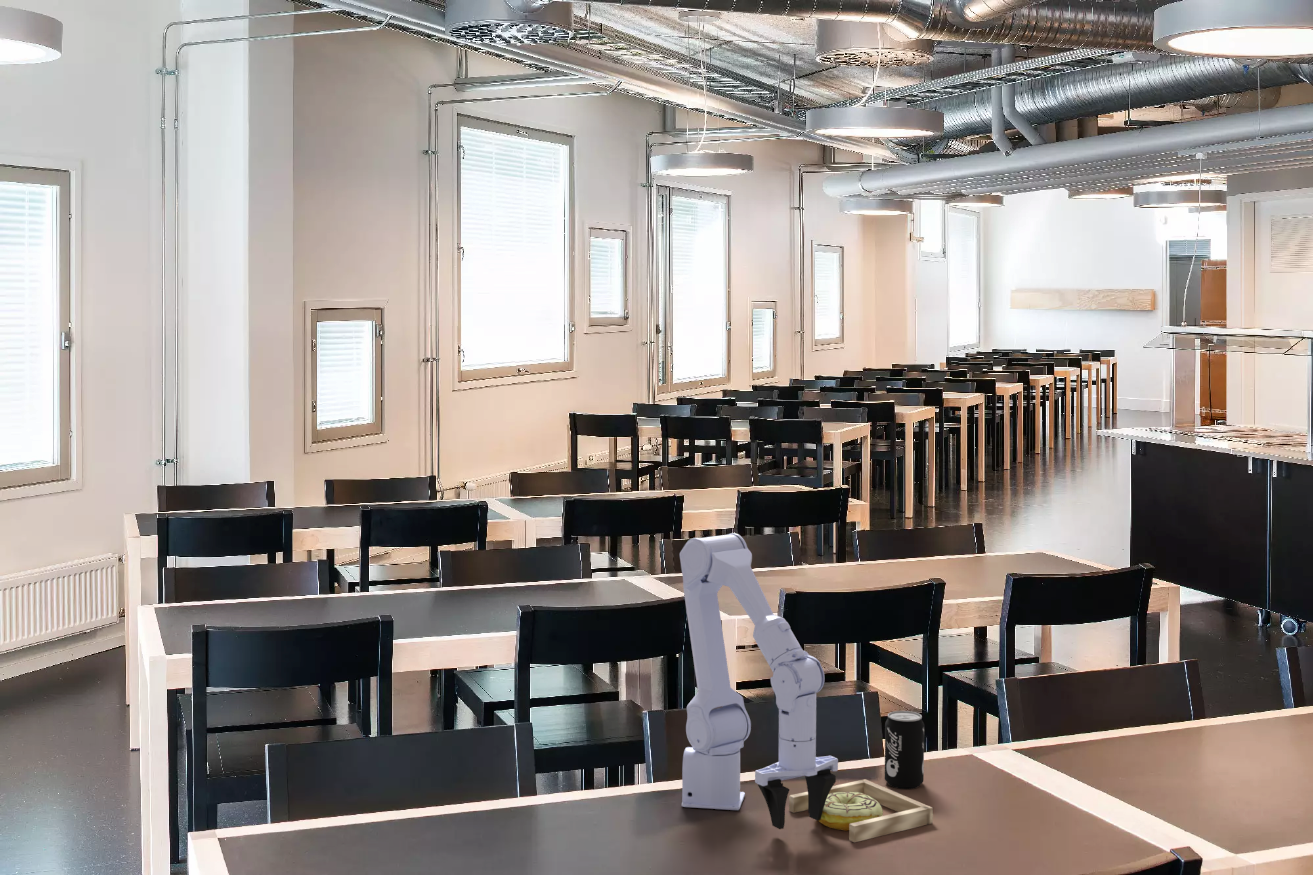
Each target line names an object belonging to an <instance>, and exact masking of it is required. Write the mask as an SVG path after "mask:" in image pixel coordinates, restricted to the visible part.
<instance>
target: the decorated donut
mask: <svg viewBox="0 0 1313 875" xmlns="http://www.w3.org/2000/svg"><path fill="white" fill-rule="evenodd" d="M881 816H884V812H883V807H882V805H881V804H879V803H878V802H877V801H876V800H875V799H873V798H872V797H870V796H868V795H865V794H863V793H859V792H835V793H830V794H828V796H827V799H826V802H825V805H824V808H823V812H822V816H821V820H819V821H818V822H819V823H820V824H822V825H823V826H826V827H828V828H830V829H834V830H841V831H844V832H845V831H849V824H851V823H855V822H860V821H864V820H868V819H872V818H877V817H881Z"/></svg>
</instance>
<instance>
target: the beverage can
mask: <svg viewBox="0 0 1313 875" xmlns="http://www.w3.org/2000/svg"><path fill="white" fill-rule="evenodd" d="M922 718H923V716H922V714H920V713H919V712H916V711H911V710H910V711H909V710H893V711H890V712H889V713H887V719H886V721H885V722H884V727H885V728H884V780H885V782H886V783H887V785H888V786H890V787H893V788H895V789H900V790H912V789H917V788H919V787H920V786H921V785H922V784H923V783H924V775H925V774H924V773H925V772H924V771H925V770H924V768H925V766H924V764H925V763H924V762H925V761H924V759H925V723H924V721H923V720H922Z"/></svg>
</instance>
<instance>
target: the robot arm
mask: <svg viewBox="0 0 1313 875" xmlns="http://www.w3.org/2000/svg"><path fill="white" fill-rule="evenodd" d="M679 560H680V569H681V574H682V575H681V576H682V585H683V586H682V587H683V594H684V595H683V596H684V601H685V610H686V617H687V623H688V629H689V637H690V638H689V639H690V644H691V651H692V657H693V658H692V659H693V660H692V661H693V665H694V666H693V667H694V673H695V679H696V686H697V692H696V694H695V695H694V696H693V698H692V699H691V700H690V702H689V703H688V704H687V706H686V713H687V715H686V716H687V717H686V718H687V719H686V724H685V732H686V737H687V740H688V743H689V744H690V745H691V746H687V747H685V749H684V751H683V756H682V771H681V772H682V774H681V776H682V782H681V784H682V786H681V787H682V789H681V790H682V794H681V797H682V800H681V801H682V802H681V807H684V808H693V809H694V808H698V809H711V810H713V809H715V810H724V811H725V810H727V811H729V810H730V811H739V810H740V809H741V807H742V804H743V801H744V799H745V795H746V793H745V792H744V791H741V749H742V748H744V745H745V744H744V743H745V741H746V740H747V739H748V738H749V736H750V734H751V732H752V731H751V729H752V728H751V727H752V722H751V719H750V716H749V714H748V711H747V710H746V706H745V702H744V697H743V696H742V695H741V694H739V692H737V691H736V690H735V689H733V688H732V687H731V680H730V675H729V667H728V661H727V654H726V646H725V640H724V638H725V637H724V633H723V632H724V631H723V626H722V617H721V611H720V605H719V604H720V603H719V597H718V593H719V591H720V590H721V588H722V587H723V586H725V587H728V588H729V589H730V590H731V592H732V593H733V595H734V596H735V597H736V598H735V599H737V601H738V602H739V604H740V606H741V607H742V608H743V610H744V612H745V613H746V614H747V616H748V617H749V619H750V620H751V622H752V623H753V624H754V628H753V634H752V638H753V640H754V641H755V643H756V644H757V647H758V648H759V650H760V652H761V654H762V656H763V658H764V659H765V661H766V662H767V664H768V666H769V668H770V670H771V671H772V676H770V685H771V688H772V691H773V693H774V695H775V704H776V706H777V709H778V761H777V762H774V763H772V764H770V765H768V766H765V767H763V768H760V769H756V770H755V771H754V782H755V784H757V787H758V788H759V789H760V791H761V793H762V795H763V797H764V800H765V802H766V805H767V808H768V812H769V816H770V820H771V825H772V827H774V828H776V829H778V830H783V829H785V822H786V820H785V819H786V805H787V799H788V797H789V796H788V794H789V792H790V789H789V787H786V786H784V783H783V782H782V781H785V780H790V779H794V778H801V777H804V778H805V783H806V789H807V792H808V810H807V811H808V816H809V818H811V819H812V820H815V821H818V822H819V820H821V816H822V812H823V808H824V805H825V802H826V799H827V796H828V794H829V792H830V790H831V788H832V787H833V786H835V784H836V782H837V779H836V778H837V776H836V774H833V773H832V772H838V771H839V759H838V758H837V757H835V756H832V755H826V756H817V755H816V754H817V751H816V750H817V694H818V693H819V692H820V691H821V690H822V689H823V687H824V684H825V672H824V669H823V667H822V665H821V664H822V663H821V662H820V660H819V659H818V658H816V657H814V656H813V655H810V653H808V651H806V650H803V648H802V646H801V645H800V643H799V641H798V640H797V638H796V636H795V634H794V632H793V631H792V629H791V626H790V624H789V622H788V621H787V620H786V619H785V618H784V617H781V616H779V615H776V614H774V612H773V610H772V607H771V606H770V604H769V602H768V600H767V598H766V596H765V594H764V592H763V590H762V587H761V585H760V583H759V581H758V578H757V577H756V575H755V573H754V570H753V569H752V561H753V554H752V552H751V550H750V549H749V548H748V544H747V543H746V540H745V539H744V538H743V537H742V536H741V535H740V534H739V533H734V532H731V533H727V534H724V535H723V534H722V535H715V536H714V535H713V536H706V537H693V538H689V539H688V540H687V542H686V543H684V545H683V547H682V549H681V550H680V552H679Z"/></svg>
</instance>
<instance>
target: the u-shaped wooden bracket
mask: <svg viewBox="0 0 1313 875" xmlns="http://www.w3.org/2000/svg"><path fill="white" fill-rule="evenodd" d="M835 792H859V793H863V794H865V795H868V796H870V797H872V798H873V799H875V800H876V801H877V802H878V803H879V804H880V806H884V807H886V808H888V809H891V810H892V811H895V813H890V814H885V815H882V816H881V817H877V818H872V819H868V820H864V821H860V822H855V823H851V824H849V830H848V832H849V833H848V838H849V839H848V840H849V841H850V842H853V843H857V842H861V841H866V840H870V839H873V838H878V837H881V836H886V835H890V834H891V835H892V834H895V833H898V832H902V831H906V830H910V829H915V828H918V827H923V826H926V825H931V824H933V813H934V812H933V809H934V808H933V807H932V806H930V805H927V804H925V803H922V802H920V801H918V800H915V799H913V798H910V797H909V796H905V795H904V794H901V793H899V792H897V791H895V790H891V789H890V788H887V787H884V786H882V785H880V784H877V783H875V782H873V781H871V780H868V779H866V778H865V779H859V780H855V781H851V782H845V783H839V784H837V785H833V787H832V788H831V790H830V792H829V794H830V793H835ZM788 798H789V799H788V812H791V813H799V812H804V811H808V791H804V792H799V793H795V794H790V795H789V796H788Z"/></svg>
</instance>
